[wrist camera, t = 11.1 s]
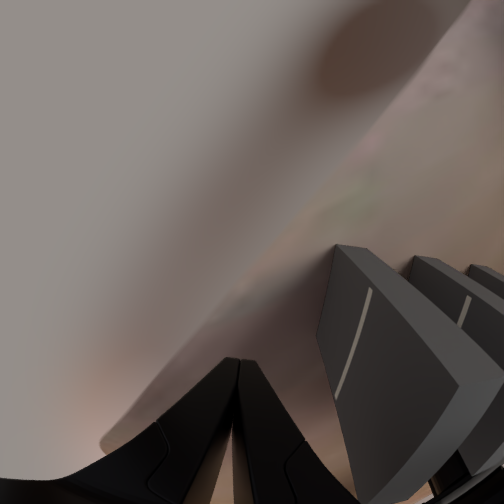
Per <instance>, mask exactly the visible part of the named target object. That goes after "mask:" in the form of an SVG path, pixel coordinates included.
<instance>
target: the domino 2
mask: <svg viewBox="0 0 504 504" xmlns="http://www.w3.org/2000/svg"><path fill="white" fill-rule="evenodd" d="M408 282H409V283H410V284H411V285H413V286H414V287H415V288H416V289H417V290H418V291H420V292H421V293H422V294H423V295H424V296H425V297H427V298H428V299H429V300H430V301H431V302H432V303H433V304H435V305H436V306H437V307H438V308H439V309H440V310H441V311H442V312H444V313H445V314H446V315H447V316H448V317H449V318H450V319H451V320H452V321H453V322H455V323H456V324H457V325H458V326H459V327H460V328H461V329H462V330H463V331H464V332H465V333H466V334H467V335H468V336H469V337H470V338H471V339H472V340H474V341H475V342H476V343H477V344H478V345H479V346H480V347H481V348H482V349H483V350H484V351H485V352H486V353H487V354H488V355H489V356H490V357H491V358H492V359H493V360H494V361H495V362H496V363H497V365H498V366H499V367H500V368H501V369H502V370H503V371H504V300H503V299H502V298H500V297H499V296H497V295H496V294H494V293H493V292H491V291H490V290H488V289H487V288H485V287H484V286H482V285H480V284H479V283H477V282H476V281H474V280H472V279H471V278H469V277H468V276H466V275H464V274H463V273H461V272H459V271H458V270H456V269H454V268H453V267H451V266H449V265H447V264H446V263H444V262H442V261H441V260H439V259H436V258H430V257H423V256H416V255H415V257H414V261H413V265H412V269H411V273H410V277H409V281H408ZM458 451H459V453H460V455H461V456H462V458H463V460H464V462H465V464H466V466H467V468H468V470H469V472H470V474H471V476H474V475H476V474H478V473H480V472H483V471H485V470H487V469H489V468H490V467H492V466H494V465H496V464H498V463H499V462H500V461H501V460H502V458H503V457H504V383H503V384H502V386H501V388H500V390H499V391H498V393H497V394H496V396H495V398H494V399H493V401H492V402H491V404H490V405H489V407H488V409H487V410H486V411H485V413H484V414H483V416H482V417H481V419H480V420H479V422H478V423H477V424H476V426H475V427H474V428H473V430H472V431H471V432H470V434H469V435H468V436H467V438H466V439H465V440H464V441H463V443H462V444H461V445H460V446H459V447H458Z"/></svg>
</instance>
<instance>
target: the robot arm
mask: <svg viewBox="0 0 504 504" xmlns="http://www.w3.org/2000/svg"><path fill="white" fill-rule="evenodd" d="M233 415H234V416H233ZM232 423H233V425H232ZM231 429H232V461H233V492H234V504H361V503H360V502H359V501H358V500H357V499H356V498H355V497H354V496H353V495H352V494H351V493H350V492H349V491H348V490H347V489H346V488H345V487H344V486H343V485H342V484H341V483H340V482H339V481H338V480H337V479H336V478H335V477H334V476H333V475H332V474H331V472H330V471H329V470H328V469H327V468H326V467H325V466H324V464H323V463H322V462H321V460H320V459H319V458H318V456H317V455H316V454H315V452H314V451H313V450H312V448H311V447H310V445H309V444H308V442H307V441H305V438H304V436H303V435H302V433H301V432H300V430H299V429H298V427H297V426H296V424H295V423H294V421H293V420H292V418H291V417H290V415H289V414H288V412H287V411H286V409H285V407H284V406H283V404H282V403H281V401H280V400H279V398H278V396H277V395H276V393H275V392H274V390H273V388H272V387H271V385H270V384H269V382H268V380H267V379H266V377H265V376H264V374H263V372H262V371H261V369H260V367H259V366H258V364H257V362H256V361H254V360H247V359H242V360H241V361H240V359H238V358H231V357H226V358H224V359H223V360H222V361H221V362H220V363H219V364H218V365H217V366H216V367H215V368H214V369H212V370H211V371H210V372H209V373H208V374H207V375H206V376H205V377H204V378H203V379H202V380H201V381H200V382H198V383H197V384H196V385H195V386H194V387H193V388H192V389H191V390H190V391H189V392H188V393H186V394H185V395H184V396H183V397H182V398H181V399H180V400H179V401H177V402H176V403H175V404H174V405H173V406H172V407H171V408H170V409H168V410H167V411H166V412H165V413H164V414H163V415H161V416H160V417H159V418H158V419H157V420H156V422H153V423H152V424H151V425H150V426H148V427H147V428H146V429H145V430H144V431H142V432H141V433H140V434H138V435H137V436H136V437H135V438H133V439H132V440H131V441H129V442H128V443H126V444H124V445H123V446H121V447H120V448H118V449H117V450H115V451H113V452H112V453H110V454H108V455H107V456H105V457H103V458H101V459H100V460H98V461H96V462H94V463H92V464H91V465H89V466H87V467H85V468H83V469H81V470H79V471H78V472H76V473H74V474H71V475H69V476H66V477H63V478H59V479H55V480H19V479H7V478H0V504H210V501H211V498H212V494H213V491H214V488H215V485H216V481H217V478H218V475H219V472H220V468H221V465H222V461H223V458H224V455H225V451H226V448H227V444H228V441H229V438H230V434H231ZM503 464H504V457H503V458H502V460H501V461H500V462H499V463H498V464H496V465H494V466H492V467H490V468H489V469H487V470H485V471H483V472H480V473H478V474H476V475H474V476H471V474H470V472H469V470H468V468H467V466H466V464H465V462H464V460H463V458H462V456H461V455H460V453H459V451H458V449H457V450H456V451H455V452H454V453H453V455H452V456H451V457H450V458H449V459H448V460H447V461H446V462H445V464H444V465H443V466H442V467H441V468H440V469H439V470H438V471H437V472H436V473H435V474H434V475H433V476H432V477H431V478H430V479H429V480H428V483H429V485H430V488H431V490H432V493H433V495H434V498H432V499H431V500H429V501H427V502H426V503H422V504H504V468H503V466H502V465H503Z"/></svg>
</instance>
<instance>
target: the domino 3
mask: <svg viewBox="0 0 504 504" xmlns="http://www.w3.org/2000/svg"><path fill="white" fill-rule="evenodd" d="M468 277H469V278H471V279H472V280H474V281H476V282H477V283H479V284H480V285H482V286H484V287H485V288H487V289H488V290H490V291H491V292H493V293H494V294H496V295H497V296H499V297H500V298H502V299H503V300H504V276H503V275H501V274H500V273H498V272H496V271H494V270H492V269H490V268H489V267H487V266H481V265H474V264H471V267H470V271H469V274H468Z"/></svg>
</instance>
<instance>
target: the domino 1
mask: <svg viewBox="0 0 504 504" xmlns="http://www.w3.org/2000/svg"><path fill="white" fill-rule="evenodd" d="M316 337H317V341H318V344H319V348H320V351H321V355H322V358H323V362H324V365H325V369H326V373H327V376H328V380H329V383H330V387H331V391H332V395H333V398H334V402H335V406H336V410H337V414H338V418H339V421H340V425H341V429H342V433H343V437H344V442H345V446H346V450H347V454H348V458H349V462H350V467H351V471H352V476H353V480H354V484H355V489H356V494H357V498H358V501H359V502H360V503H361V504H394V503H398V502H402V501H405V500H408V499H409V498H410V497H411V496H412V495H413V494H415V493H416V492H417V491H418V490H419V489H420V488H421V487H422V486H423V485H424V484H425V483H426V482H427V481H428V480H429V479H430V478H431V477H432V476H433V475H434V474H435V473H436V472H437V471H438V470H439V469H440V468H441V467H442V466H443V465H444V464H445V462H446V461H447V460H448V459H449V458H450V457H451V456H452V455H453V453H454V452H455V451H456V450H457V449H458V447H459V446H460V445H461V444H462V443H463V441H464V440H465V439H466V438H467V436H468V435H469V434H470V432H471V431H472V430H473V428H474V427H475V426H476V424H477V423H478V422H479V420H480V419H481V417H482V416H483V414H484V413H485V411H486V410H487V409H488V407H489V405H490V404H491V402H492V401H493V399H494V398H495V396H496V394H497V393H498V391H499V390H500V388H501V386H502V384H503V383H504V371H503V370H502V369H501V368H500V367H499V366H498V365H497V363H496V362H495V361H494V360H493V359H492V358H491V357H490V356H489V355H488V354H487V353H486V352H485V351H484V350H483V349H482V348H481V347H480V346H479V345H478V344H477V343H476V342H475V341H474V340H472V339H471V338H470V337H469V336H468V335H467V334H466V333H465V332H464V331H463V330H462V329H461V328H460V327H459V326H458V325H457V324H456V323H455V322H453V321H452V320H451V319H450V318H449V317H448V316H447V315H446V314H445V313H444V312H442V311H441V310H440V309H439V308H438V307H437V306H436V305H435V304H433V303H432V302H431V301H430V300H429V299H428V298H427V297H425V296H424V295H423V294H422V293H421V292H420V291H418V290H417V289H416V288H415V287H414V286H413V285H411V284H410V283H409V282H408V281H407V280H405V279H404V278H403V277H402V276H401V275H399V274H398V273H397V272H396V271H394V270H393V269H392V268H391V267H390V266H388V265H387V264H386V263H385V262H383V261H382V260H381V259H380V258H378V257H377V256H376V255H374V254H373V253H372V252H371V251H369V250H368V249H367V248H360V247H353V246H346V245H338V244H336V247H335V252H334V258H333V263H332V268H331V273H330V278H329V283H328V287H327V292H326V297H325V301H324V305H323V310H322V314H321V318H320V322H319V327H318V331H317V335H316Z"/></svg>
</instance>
